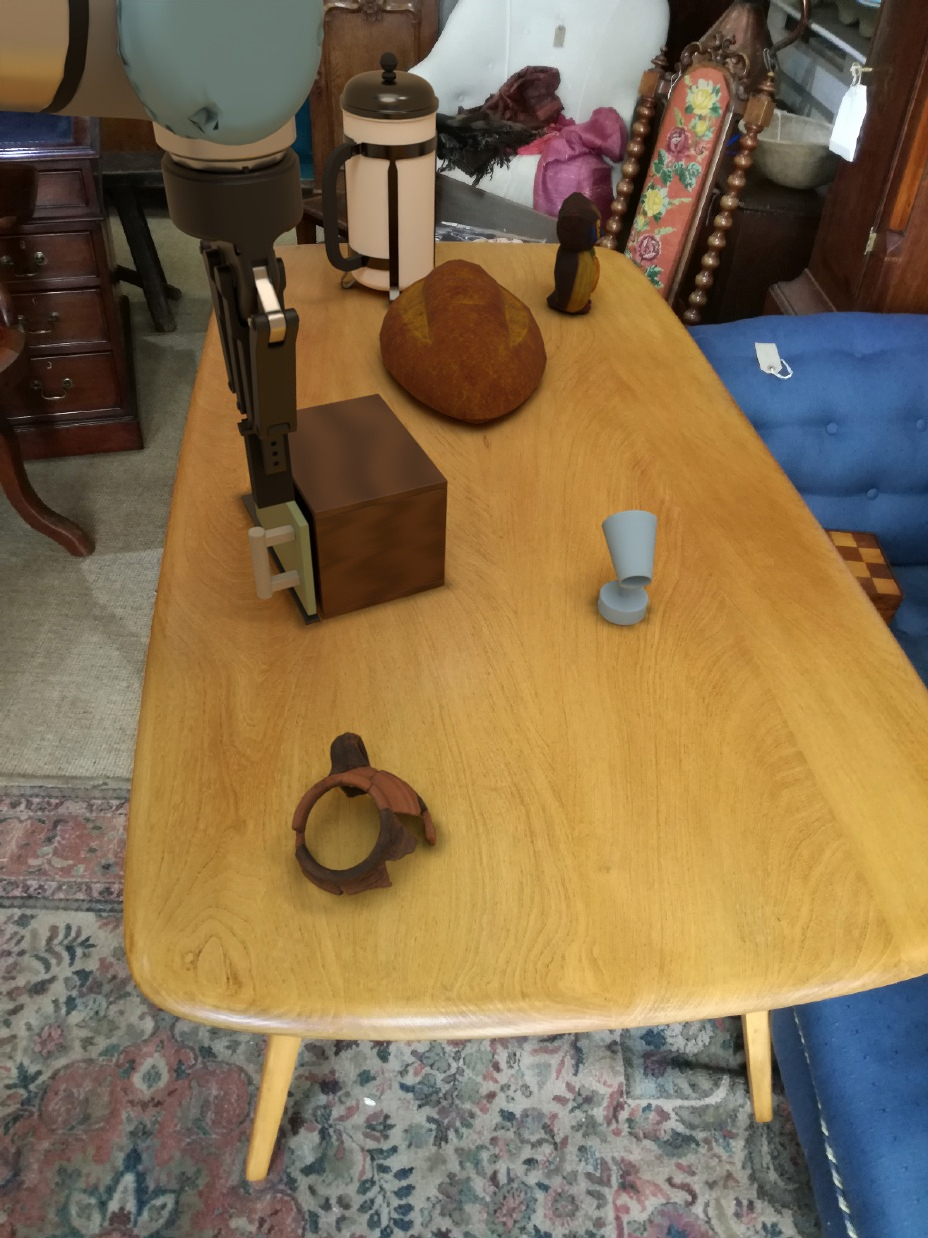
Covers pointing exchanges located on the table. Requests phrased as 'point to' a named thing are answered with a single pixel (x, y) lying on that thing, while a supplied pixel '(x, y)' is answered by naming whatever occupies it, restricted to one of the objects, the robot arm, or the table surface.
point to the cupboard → (364, 507)
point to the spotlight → (628, 565)
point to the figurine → (576, 254)
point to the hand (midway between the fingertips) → (273, 498)
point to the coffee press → (384, 179)
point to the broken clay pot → (390, 799)
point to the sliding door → (283, 553)
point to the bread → (463, 343)
